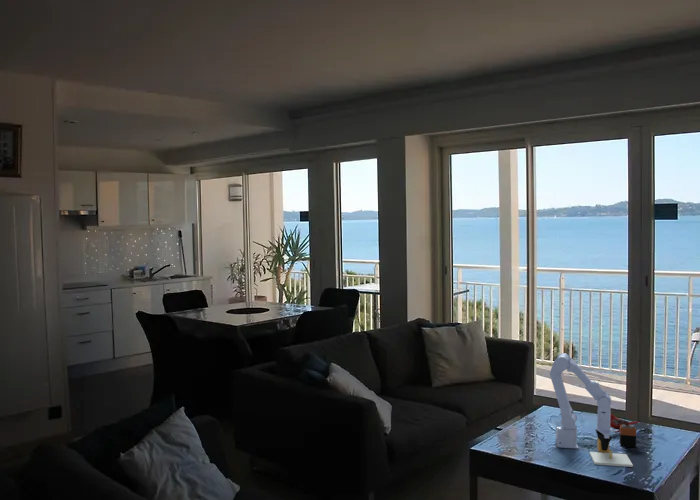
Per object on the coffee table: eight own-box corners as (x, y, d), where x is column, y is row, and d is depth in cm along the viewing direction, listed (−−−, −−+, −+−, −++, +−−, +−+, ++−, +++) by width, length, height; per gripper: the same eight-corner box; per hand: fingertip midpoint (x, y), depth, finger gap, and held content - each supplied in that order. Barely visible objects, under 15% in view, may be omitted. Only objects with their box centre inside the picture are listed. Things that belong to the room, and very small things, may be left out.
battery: (636, 447, 296) (636, 427, 295) (620, 446, 298) (621, 426, 297) (634, 444, 300) (635, 424, 300) (619, 443, 302) (619, 422, 301)
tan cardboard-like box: (599, 452, 291) (599, 441, 291) (597, 448, 295) (597, 438, 295) (609, 452, 290) (609, 442, 290) (607, 449, 294) (607, 438, 294)
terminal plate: (594, 464, 277) (594, 454, 277) (589, 453, 289) (589, 444, 289) (632, 467, 274) (633, 457, 274) (626, 456, 286) (626, 446, 286)
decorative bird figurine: (602, 430, 318) (602, 411, 317) (638, 432, 316) (639, 413, 315) (603, 432, 315) (604, 413, 315) (640, 434, 313) (641, 415, 312)
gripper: (616, 425, 284) (615, 454, 285) (609, 414, 298) (608, 442, 299) (600, 424, 285) (599, 453, 286) (593, 414, 299) (593, 441, 300)
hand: (603, 447), depth 293 cm, fingers open, 5 cm apart
